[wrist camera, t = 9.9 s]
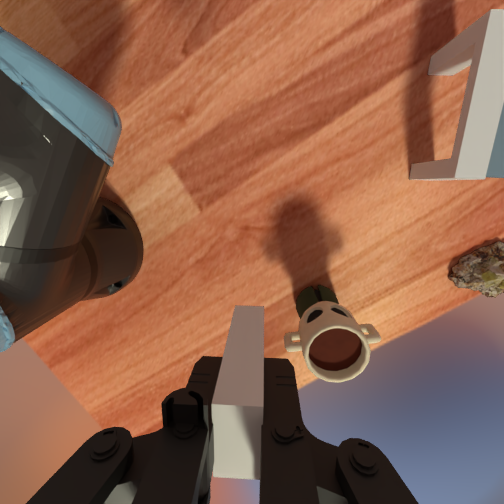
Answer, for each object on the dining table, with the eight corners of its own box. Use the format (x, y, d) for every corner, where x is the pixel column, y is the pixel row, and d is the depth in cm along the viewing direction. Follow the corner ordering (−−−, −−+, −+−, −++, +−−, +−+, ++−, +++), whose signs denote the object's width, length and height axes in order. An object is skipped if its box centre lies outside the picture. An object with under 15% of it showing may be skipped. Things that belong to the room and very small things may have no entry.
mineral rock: (543, 236, 36) (553, 297, 35) (515, 238, 40) (524, 293, 40) (455, 246, 37) (463, 305, 37) (437, 247, 41) (445, 301, 41)
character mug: (350, 276, 40) (388, 318, 28) (354, 320, 42) (391, 378, 29) (277, 286, 41) (281, 330, 29) (283, 328, 43) (290, 387, 30)
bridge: (408, 179, 37) (454, 177, 28) (431, 56, 33) (491, 9, 24) (431, 180, 37) (485, 179, 28) (456, 56, 33) (526, 9, 24)
